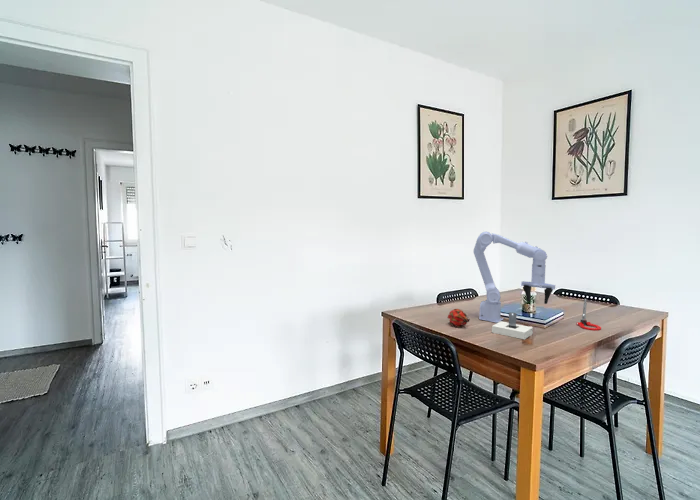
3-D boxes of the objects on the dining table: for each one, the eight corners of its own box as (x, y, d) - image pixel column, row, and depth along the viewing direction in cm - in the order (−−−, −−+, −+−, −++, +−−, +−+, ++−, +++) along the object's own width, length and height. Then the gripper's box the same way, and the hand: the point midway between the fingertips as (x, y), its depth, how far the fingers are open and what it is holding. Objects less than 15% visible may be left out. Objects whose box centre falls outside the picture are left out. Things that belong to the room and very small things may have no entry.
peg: (507, 333, 166) (507, 313, 165) (510, 331, 168) (510, 312, 167) (513, 334, 164) (514, 314, 163) (516, 333, 166) (517, 313, 165)
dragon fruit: (451, 324, 185) (466, 335, 174) (440, 316, 181) (454, 326, 170) (461, 310, 185) (476, 320, 174) (450, 302, 181) (465, 311, 170)
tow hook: (605, 331, 170) (590, 324, 179) (608, 303, 168) (592, 298, 177) (588, 332, 169) (573, 325, 178) (591, 304, 167) (576, 298, 176)
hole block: (491, 332, 167) (491, 325, 167) (500, 327, 174) (500, 321, 174) (524, 339, 157) (524, 332, 157) (532, 334, 165) (532, 327, 164)
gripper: (519, 273, 180) (518, 301, 181) (552, 276, 170) (551, 306, 172) (524, 271, 185) (523, 298, 187) (557, 275, 175) (555, 303, 177)
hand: (537, 302), depth 179 cm, fingers open, 7 cm apart
